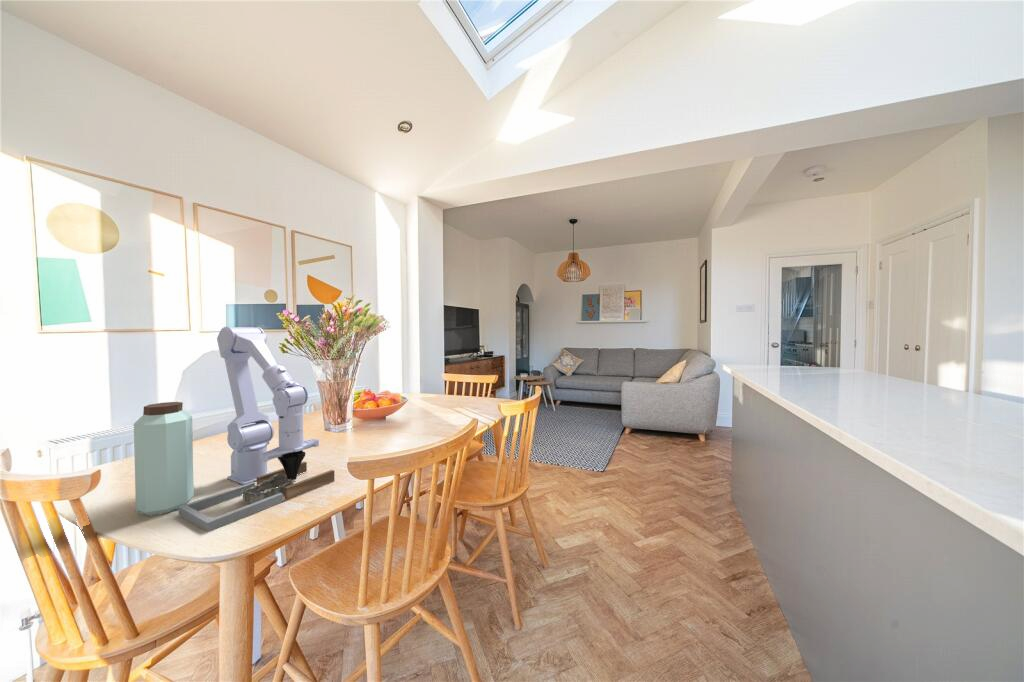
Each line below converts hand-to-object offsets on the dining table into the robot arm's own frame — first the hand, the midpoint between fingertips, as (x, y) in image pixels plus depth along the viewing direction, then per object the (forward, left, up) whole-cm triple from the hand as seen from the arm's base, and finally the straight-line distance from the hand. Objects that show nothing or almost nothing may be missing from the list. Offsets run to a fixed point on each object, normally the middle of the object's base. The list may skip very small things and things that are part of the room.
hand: (291, 479), depth 97 cm
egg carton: (+1, -6, -2) cm, 6 cm away
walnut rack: (0, +1, -2) cm, 2 cm away
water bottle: (-15, -21, -2) cm, 26 cm away
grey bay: (0, -14, -2) cm, 14 cm away
